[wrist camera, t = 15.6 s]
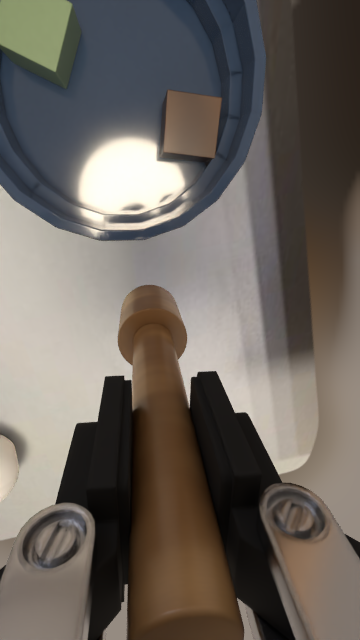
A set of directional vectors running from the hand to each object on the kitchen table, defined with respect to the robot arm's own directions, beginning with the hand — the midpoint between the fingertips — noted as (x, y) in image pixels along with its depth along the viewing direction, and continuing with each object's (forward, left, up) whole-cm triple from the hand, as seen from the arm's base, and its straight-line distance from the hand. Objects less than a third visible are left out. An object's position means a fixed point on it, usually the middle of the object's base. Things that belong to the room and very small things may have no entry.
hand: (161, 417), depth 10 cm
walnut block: (-4, -11, -23) cm, 26 cm away
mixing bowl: (+2, -13, -24) cm, 27 cm away
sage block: (+6, -16, -23) cm, 29 cm away
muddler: (0, 0, -10) cm, 10 cm away
